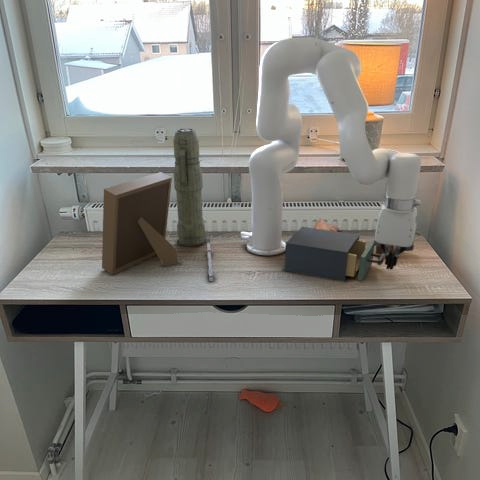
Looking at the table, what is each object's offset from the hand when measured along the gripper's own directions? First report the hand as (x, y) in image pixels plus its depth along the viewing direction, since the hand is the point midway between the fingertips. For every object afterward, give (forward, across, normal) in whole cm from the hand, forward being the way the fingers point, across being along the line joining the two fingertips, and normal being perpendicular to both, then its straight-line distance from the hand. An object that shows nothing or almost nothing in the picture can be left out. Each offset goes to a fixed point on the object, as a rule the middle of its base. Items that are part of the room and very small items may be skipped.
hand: (390, 267), depth 145 cm
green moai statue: (+3, +65, -3) cm, 65 cm away
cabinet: (+3, +20, 0) cm, 20 cm away
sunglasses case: (+3, +25, -22) cm, 34 cm away
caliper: (+3, +50, +13) cm, 52 cm away
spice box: (+3, +4, -18) cm, 18 cm away
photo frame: (+3, +68, +19) cm, 70 cm away
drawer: (+2, +12, 0) cm, 12 cm away
